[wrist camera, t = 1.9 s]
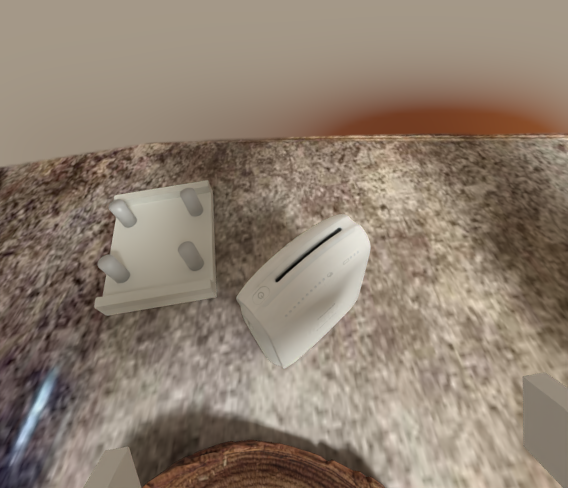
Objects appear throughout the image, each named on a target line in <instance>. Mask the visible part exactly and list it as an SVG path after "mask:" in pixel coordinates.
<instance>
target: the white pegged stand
mask: <svg viewBox="0 0 568 488" xmlns="http://www.w3.org/2000/svg"><path fill="white" fill-rule="evenodd" d="M109 209H110V210H111V212H112V213H113V214H114V215H115V216H116V222H115V228H114V233H113V239H112V245H111V251H110V254H108V255H105V256H103V257H101V258H100V260H99V261H98V267H99V268H100V269H101V270H102V271H103V272H105V273H106V279H105V285H104V291H103V297H97V298H96V299H95V305H94V308H95V309H97V310H99V311H100V312H102V313H103V314H105V315H106V316H109V315H115V314H121V313H127V312H133V311H138V310H144V309H150V308H156V307H162V306H168V305H174V304H180V303H186V302H192V301H198V300H204V299H209V298H215V297H217V292H216V263H215V234H214V205H213V191H212V189H211V186H210V184H209V181H208V180H205V181H199V182H193V183H187V184H181V185H175V186H169V187H163V188H157V189H151V190H145V191H139V192H133V193H127V194H121V195H115V197H114V201H112V202H111V203H110V204H109Z"/></svg>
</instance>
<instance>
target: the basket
mask: <svg viewBox="0 0 568 488" xmlns="http://www.w3.org/2000/svg"><path fill="white" fill-rule="evenodd" d="M142 488H385V487H384V486H383V485H382V484H380V483H379V482H378V481H376V480H375V479H373V478H372V477H366V476H365V475H363V474H362V473H361V472H359V471H353V470H351V469H349V468H347V467H345V466H343V465H341V464H340V463H338V462H336V461H334V460H330V461H327V460H325V459H324V458H322V457H321V456H319V455H317V454H314V453H311V452H308V451H304V450H301V449H298V448H295V447H292V446H288V445H284V444H279V443H272V442H266V441H257V440H244V441H237V442H233V441H230V442H225V443H221V444H218V445H215V446H212V447H210V448H207V449H204V450H201V451H198V452H196V453H194V454H193V455H191V456H188V457H184V458H183V459H181V460H179V461H177V462H176V463H174V464H172V466H170V467H169V468H168V469H166V470H165V471H163V472H162V473H160V474H159V475H158V476H156V477H155V478H153V479H152V480H151V481H149V482H148V483H147V484H146V485H144V486H143V487H142Z"/></svg>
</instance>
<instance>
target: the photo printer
mask: <svg viewBox="0 0 568 488" xmlns="http://www.w3.org/2000/svg"><path fill="white" fill-rule="evenodd" d="M370 248H371V247H370V242H369V239H368V236H367V234H366V232H365V231H364V230H363V228H362V227H361V226H360V225H359V224H357V223H355V222H354V221H353V220H351V218H350V217H349V216H348V215H345V214H338V215H335V216H332V217H330V218H327V219H325V220H323V221H321V222H319V223H318V224H316V225H314V226H313V227H311V228H309V229H308V230H306V231H305V232H303V233H302V234H300V235H299V236H297V237H296V238H295V239H294V240H292V241H291V242H289V243H288V244H287V245H286V246H285V247H283V248H282V249H281V250H280V251H279V252H277V253H276V254H275V255H274V256H273V257H271V258H270V259H269V260H268V261H267V262H266V263H265V264H264V265H263V266H262V267H261V268H260V269H259V270H258V271H257V272H256V273H255V274H254V275H253V276H252V277H251V278H250V279H249V281H248V282H247V283H246V284H245V286H244V287H243V288H242V290H241V291H240V292H239V294H238V296H237V297H236V299H237V302H238V303H239V305H240V307H241V312H242V316H243V319H244V321H245V322H246V324H247V326H248V328H249V330H250V331H251V333H252V335H253V337H254V338H255V340H256V342H257V343H258V345H259V347H260V348H261V350H262V352H263V353H264V355H265V357H266V358H267V359H268V360H269V361H270V362H271V363H273V364H275V365H278V366H282V368H283V369H284V368H286V367H288V366H290V365H291V364H293V363H294V362H295V361H297V360H298V359H299V358H300V357H301V356H303V355H304V354H305V353H306V352H307V351H308V350H309V349H310V348H311V347H313V346H314V345H315V344H316V343H317V342H318V341H319V340H320V339H321V338H322V337H323V336H324V335H325V334H326V333H327V332H328V331H329V330H330V329H331V328H332V327H333V326H334V325H335V324H336V323H337V322H338V321H339V320H340V319H341V318H342V317H343V316H344V315H345V314H346V313H347V312H348V311H349V310H350V309H351V308H352V306H353V305H354V304H355V302H356V300H357V299H358V296H359V292H360V289H361V285H362V281H363V277H364V274H365V269H366V266H367V262H368V258H369V254H370Z"/></svg>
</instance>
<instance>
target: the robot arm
mask: <svg viewBox="0 0 568 488" xmlns="http://www.w3.org/2000/svg"><path fill="white" fill-rule="evenodd" d="M523 438H524V447H525V448H526V449H527V450H528V451H529V452H530V453H531V455H532V456H533V457H534V458H535V459H536V460H537V461H538V462H539V463H540V464H541V465H542V466H543V467H544V468H545V469H546V470H547V471H548V472H549V473H550V474H551V475H552V476H553V478H554V479H555V480H556V481H557V482H558V483H559V484H560V485H561V486H562V487H563V488H568V388H567V387H566V386H564V385H563V384H561V383H560V382H558V381H557V380H556V379H554V378H553V377H551V376H550V375H548V374H547V373H545V372H544V373H539V374H533V375H527V376H523ZM83 488H141V485H140V482H139V478H138V475H137V472H136V469H135V465H134V462H133V459H132V455H131V452H130V449H129V447H123V448H118V449H112V450H106V451H105V452H104V454H103V455H102V457H101V459H100V460H99V462H98V464H97V465H96V467H95V469H94V471H93V472H92V474H91V476H90V477H89V479H88V481H87V482H86V484H85V486H84V487H83Z"/></svg>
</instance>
